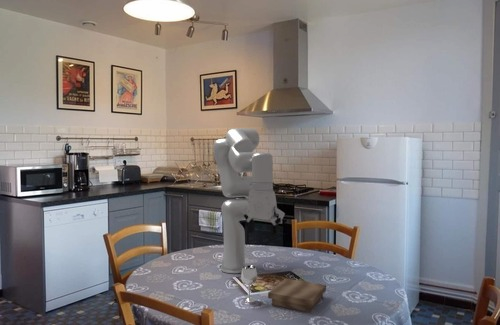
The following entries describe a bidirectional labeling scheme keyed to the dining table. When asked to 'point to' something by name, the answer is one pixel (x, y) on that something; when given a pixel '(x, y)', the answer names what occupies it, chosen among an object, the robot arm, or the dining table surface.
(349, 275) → the dining table surface
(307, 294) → the stand
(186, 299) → the dining table surface
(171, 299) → the dining table surface
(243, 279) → the wineglass
